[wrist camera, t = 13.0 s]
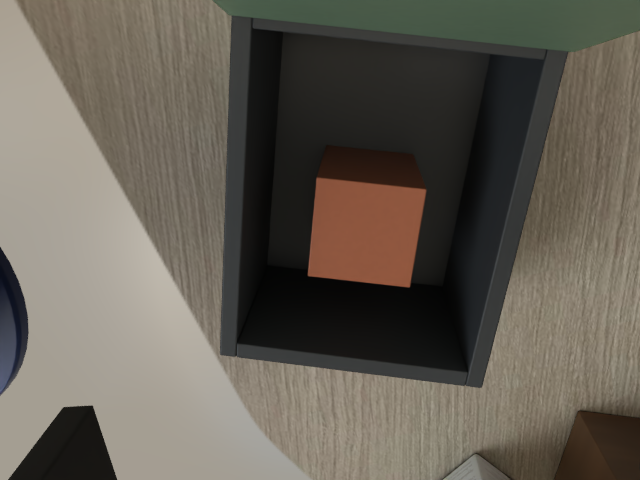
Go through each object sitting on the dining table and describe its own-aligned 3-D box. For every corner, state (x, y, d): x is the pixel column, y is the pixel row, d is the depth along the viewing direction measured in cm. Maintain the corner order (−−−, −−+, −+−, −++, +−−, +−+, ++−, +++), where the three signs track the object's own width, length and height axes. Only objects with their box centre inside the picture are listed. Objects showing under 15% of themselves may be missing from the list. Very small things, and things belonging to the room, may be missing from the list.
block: (318, 226, 33) (307, 276, 26) (326, 144, 31) (316, 177, 25) (400, 235, 33) (410, 288, 26) (413, 154, 31) (427, 188, 24)
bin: (451, 293, 35) (482, 388, 26) (256, 269, 35) (219, 355, 26) (506, 34, 29) (572, 39, 20) (272, 9, 29) (231, 3, 20)
